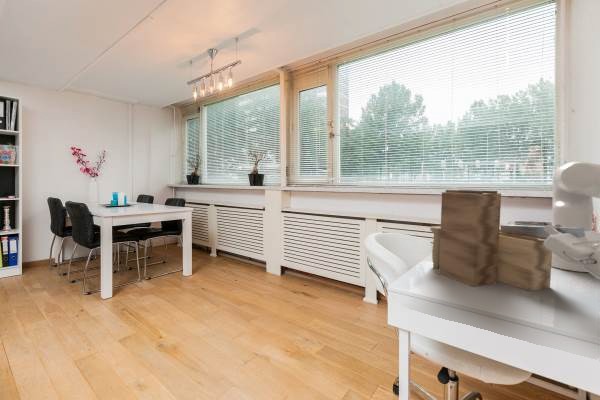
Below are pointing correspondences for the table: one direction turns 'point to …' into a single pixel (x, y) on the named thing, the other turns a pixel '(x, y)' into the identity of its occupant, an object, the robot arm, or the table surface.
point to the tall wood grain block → (470, 236)
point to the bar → (539, 230)
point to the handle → (436, 245)
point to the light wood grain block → (524, 261)
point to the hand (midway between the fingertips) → (551, 226)
